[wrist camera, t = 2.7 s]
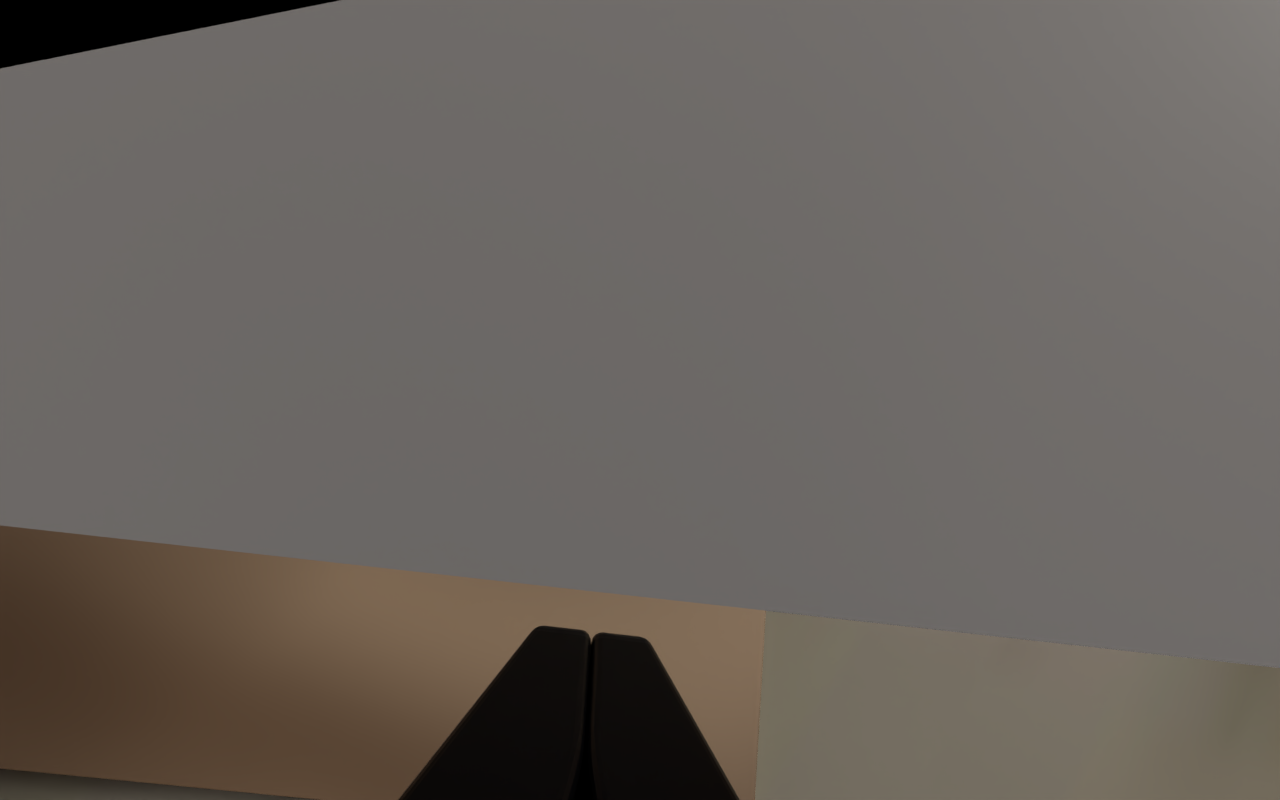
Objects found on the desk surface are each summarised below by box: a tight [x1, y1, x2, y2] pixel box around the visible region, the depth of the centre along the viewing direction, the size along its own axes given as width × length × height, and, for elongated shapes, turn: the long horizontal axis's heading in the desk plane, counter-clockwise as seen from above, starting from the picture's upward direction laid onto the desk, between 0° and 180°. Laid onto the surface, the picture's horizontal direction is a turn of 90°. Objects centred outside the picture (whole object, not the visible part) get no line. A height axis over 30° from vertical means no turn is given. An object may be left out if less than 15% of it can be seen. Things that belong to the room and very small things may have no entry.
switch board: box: [0, 525, 766, 800], centre depth 15 cm, size 14×20×4 cm
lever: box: [0, 0, 1280, 668], centre depth 8 cm, size 2×4×11 cm, turn 83°
